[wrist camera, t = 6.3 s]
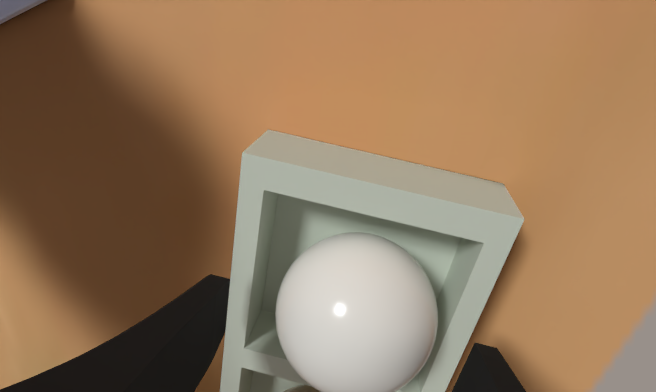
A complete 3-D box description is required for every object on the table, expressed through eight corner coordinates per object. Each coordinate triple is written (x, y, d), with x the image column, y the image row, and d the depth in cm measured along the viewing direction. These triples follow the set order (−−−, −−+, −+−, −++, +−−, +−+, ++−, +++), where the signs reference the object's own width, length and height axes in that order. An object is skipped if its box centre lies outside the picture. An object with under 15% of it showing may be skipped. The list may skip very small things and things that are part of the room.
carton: (384, 469, 20) (382, 527, 18) (232, 426, 21) (211, 476, 18) (503, 183, 13) (524, 218, 11) (268, 129, 14) (242, 152, 11)
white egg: (314, 328, 16) (302, 453, 12) (265, 227, 14) (228, 331, 10) (436, 299, 15) (473, 422, 11) (402, 187, 13) (430, 281, 9)
